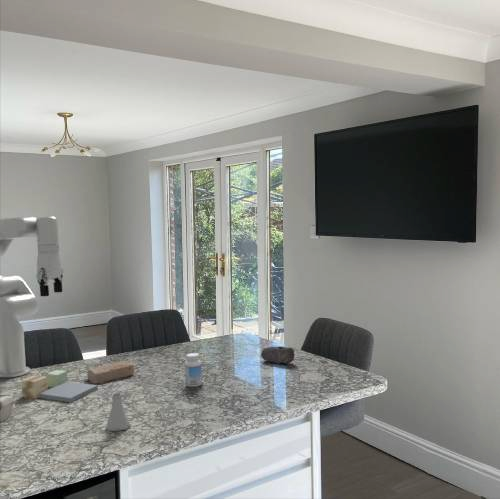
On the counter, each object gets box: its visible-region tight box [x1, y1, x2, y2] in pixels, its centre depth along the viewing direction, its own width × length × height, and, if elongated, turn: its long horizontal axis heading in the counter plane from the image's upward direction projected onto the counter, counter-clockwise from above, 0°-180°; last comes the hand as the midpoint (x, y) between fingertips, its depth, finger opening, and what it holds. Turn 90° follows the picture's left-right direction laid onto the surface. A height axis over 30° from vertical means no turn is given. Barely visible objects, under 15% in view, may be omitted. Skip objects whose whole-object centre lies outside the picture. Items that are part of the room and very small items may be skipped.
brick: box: [86, 360, 135, 384], centre depth 210 cm, size 17×8×5 cm, turn 128°
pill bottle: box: [184, 352, 203, 388], centre depth 197 cm, size 6×6×11 cm
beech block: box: [20, 374, 49, 399], centre depth 191 cm, size 6×6×6 cm
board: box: [38, 381, 99, 403], centre depth 191 cm, size 14×14×2 cm
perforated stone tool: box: [260, 346, 295, 365], centre depth 222 cm, size 15×5×7 cm, turn 56°
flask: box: [105, 392, 131, 432], centre depth 159 cm, size 7×7×10 cm
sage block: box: [46, 369, 68, 388], centre depth 201 cm, size 5×5×5 cm
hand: (51, 294), depth 204 cm, fingers open, 9 cm apart
